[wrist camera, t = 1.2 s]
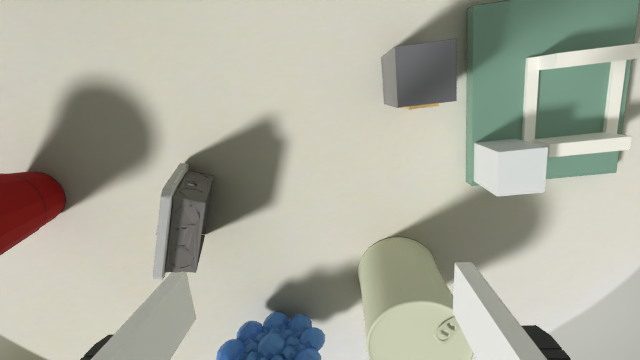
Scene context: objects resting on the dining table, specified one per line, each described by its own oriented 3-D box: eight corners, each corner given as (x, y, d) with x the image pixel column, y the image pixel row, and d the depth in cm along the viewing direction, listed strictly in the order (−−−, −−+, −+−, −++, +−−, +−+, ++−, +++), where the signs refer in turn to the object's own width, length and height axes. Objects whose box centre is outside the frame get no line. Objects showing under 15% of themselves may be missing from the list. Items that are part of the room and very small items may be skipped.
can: (452, 272, 37) (502, 352, 26) (394, 317, 40) (417, 411, 28) (398, 221, 36) (425, 282, 24) (341, 271, 38) (343, 350, 27)
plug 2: (474, 142, 32) (498, 152, 27) (515, 138, 31) (548, 147, 26) (473, 181, 33) (496, 196, 28) (514, 177, 32) (544, 192, 27)
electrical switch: (182, 160, 36) (140, 186, 27) (228, 169, 36) (201, 198, 27) (173, 233, 38) (133, 279, 29) (216, 241, 39) (189, 289, 30)
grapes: (238, 341, 42) (200, 435, 30) (234, 297, 40) (192, 380, 29) (326, 344, 41) (321, 443, 30) (326, 300, 39) (320, 386, 28)
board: (467, 9, 30) (488, -5, 25) (626, -13, 29) (678, -32, 24) (466, 181, 34) (484, 194, 30) (604, 169, 33) (644, 180, 29)
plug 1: (381, 57, 31) (394, 46, 24) (427, 51, 31) (456, 38, 23) (384, 106, 33) (397, 111, 25) (428, 101, 32) (456, 104, 25)
